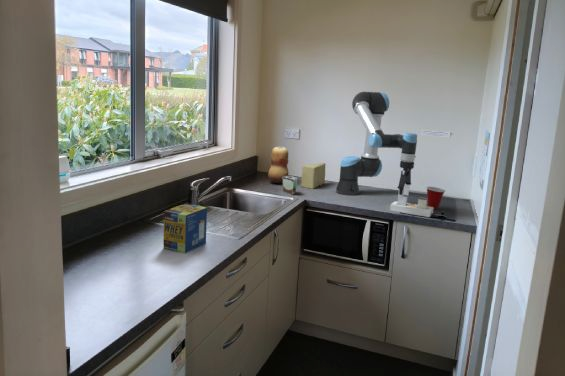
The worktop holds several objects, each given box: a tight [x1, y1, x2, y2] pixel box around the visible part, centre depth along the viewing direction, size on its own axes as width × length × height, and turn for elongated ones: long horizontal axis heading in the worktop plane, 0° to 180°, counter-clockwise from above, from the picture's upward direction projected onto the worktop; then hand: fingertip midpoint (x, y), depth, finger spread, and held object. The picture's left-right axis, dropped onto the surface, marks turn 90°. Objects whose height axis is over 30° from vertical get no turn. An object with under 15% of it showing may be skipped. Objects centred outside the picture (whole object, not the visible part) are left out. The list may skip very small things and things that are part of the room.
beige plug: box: [417, 196, 428, 209], centre depth 262 cm, size 4×4×9 cm
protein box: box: [163, 203, 208, 254], centre depth 188 cm, size 10×15×16 cm
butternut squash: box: [267, 146, 289, 184], centre depth 318 cm, size 14×13×25 cm
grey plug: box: [397, 194, 409, 206], centre depth 267 cm, size 4×4×9 cm
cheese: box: [300, 162, 326, 190], centre depth 318 cm, size 22×10×15 cm, turn 145°
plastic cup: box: [426, 186, 446, 210], centre depth 276 cm, size 11×11×12 cm
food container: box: [282, 175, 299, 196], centre depth 293 cm, size 12×6×10 cm, turn 37°
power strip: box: [389, 200, 447, 219], centre depth 263 cm, size 30×10×4 cm, turn 63°
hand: (403, 197), depth 266 cm, fingers open, 13 cm apart
